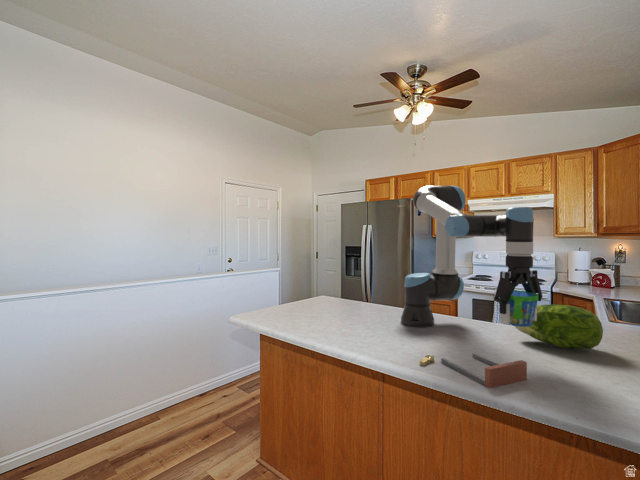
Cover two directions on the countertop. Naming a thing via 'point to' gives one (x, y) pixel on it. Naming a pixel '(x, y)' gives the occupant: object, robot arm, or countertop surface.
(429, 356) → the brass key
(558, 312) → the lettuce
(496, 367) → the bracket
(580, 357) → the countertop surface
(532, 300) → the snack cup
